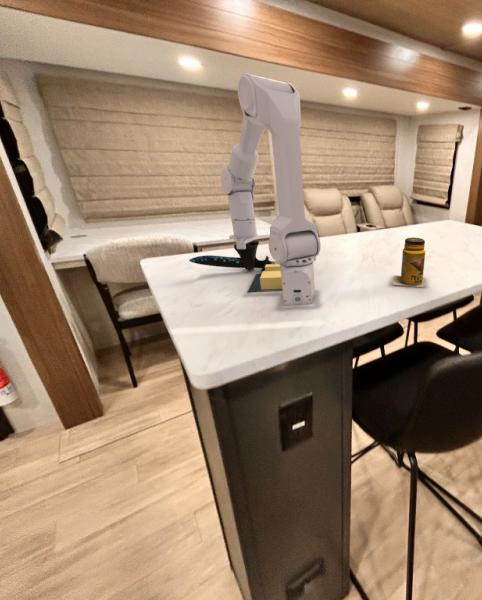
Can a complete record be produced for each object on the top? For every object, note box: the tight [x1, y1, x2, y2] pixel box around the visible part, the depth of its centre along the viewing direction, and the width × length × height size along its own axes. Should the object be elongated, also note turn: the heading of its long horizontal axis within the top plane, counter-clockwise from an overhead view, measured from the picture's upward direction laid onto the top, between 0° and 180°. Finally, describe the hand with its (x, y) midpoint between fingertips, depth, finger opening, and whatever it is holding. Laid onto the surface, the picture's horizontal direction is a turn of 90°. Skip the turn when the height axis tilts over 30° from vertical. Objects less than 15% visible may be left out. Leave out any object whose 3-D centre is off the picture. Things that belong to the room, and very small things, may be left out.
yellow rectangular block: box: [260, 271, 282, 290], centre depth 76 cm, size 5×6×3 cm
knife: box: [188, 254, 279, 273], centre depth 87 cm, size 31×3×4 cm, turn 102°
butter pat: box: [265, 264, 281, 271], centre depth 83 cm, size 2×6×3 cm, turn 102°
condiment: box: [392, 237, 426, 288], centre depth 83 cm, size 7×8×12 cm
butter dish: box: [246, 272, 283, 294], centre depth 80 cm, size 14×12×1 cm
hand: (250, 268), depth 87 cm, fingers closed on knife
